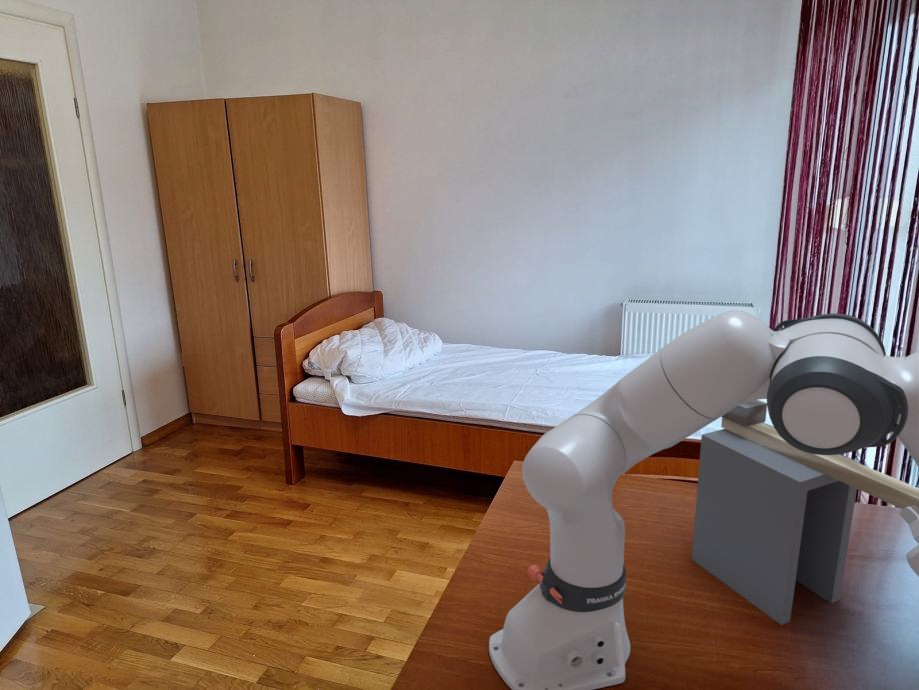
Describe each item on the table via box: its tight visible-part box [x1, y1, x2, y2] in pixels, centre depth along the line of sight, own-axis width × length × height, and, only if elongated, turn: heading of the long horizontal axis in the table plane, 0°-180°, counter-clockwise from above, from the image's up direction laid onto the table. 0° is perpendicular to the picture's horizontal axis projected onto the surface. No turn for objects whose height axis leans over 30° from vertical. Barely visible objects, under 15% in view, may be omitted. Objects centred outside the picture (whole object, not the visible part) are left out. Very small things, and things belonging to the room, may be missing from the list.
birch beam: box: [720, 399, 919, 511], centre depth 100 cm, size 5×36×6 cm, turn 24°
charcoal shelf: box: [691, 422, 862, 626], centre depth 110 cm, size 14×20×26 cm
